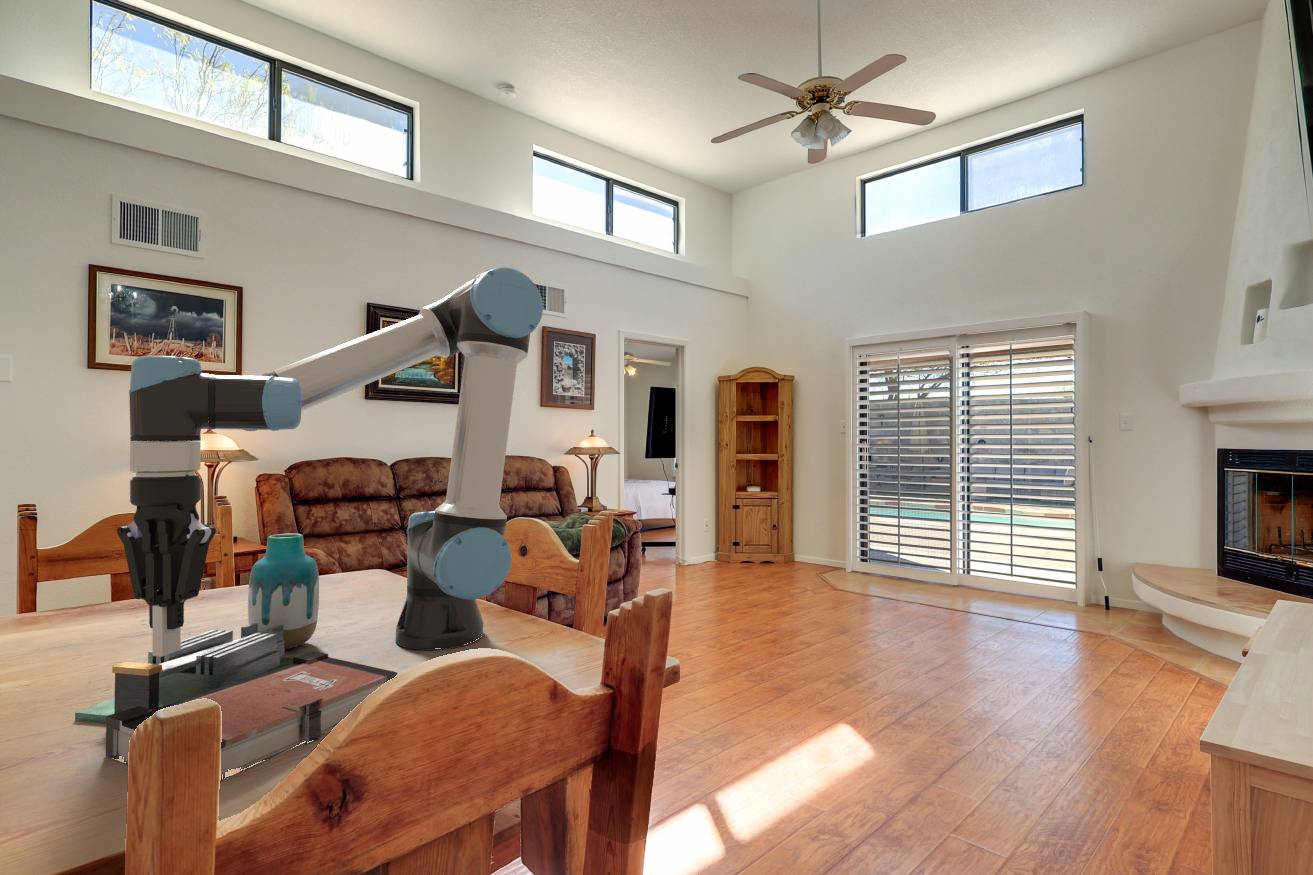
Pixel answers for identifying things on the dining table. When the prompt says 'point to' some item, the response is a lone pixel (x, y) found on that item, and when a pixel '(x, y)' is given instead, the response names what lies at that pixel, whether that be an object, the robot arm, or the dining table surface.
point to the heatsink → (193, 670)
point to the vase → (285, 590)
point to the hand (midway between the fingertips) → (166, 652)
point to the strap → (183, 662)
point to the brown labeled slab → (270, 708)
